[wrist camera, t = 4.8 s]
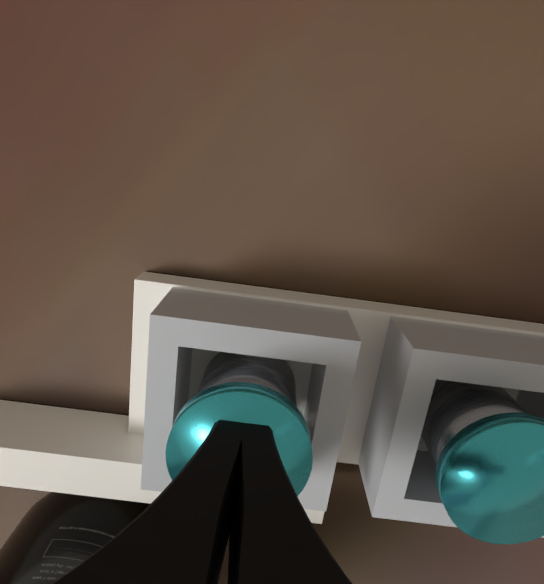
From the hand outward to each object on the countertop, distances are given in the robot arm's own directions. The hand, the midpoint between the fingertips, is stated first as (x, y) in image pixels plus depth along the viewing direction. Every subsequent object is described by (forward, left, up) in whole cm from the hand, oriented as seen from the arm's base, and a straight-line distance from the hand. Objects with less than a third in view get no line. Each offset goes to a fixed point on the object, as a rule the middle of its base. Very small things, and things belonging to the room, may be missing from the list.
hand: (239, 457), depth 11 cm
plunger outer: (0, -7, -4) cm, 8 cm away
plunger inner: (0, 0, -4) cm, 4 cm away
